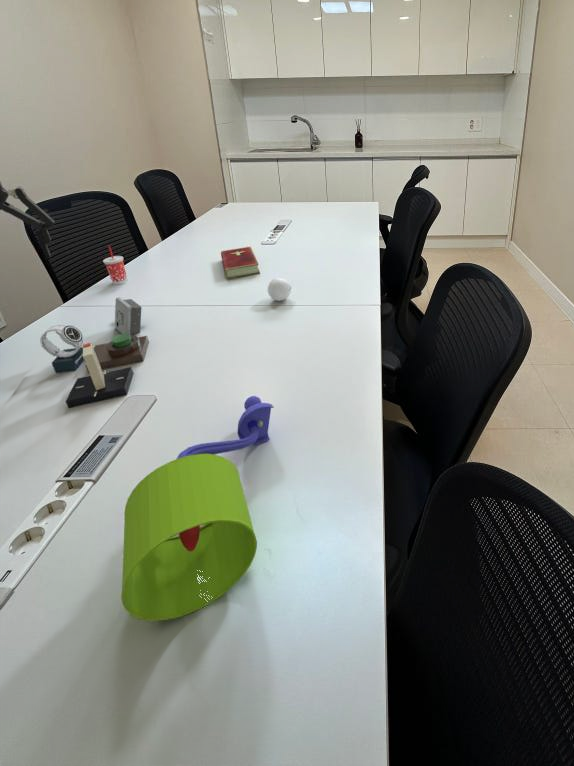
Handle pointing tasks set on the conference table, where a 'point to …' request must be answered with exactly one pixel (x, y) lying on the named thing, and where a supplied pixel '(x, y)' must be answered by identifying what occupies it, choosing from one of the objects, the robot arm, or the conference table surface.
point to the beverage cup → (116, 268)
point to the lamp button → (121, 340)
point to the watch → (67, 357)
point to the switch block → (121, 353)
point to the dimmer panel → (87, 393)
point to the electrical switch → (127, 316)
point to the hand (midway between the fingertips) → (11, 264)
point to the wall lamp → (190, 527)
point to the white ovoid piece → (279, 289)
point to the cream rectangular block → (93, 366)
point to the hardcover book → (239, 262)
